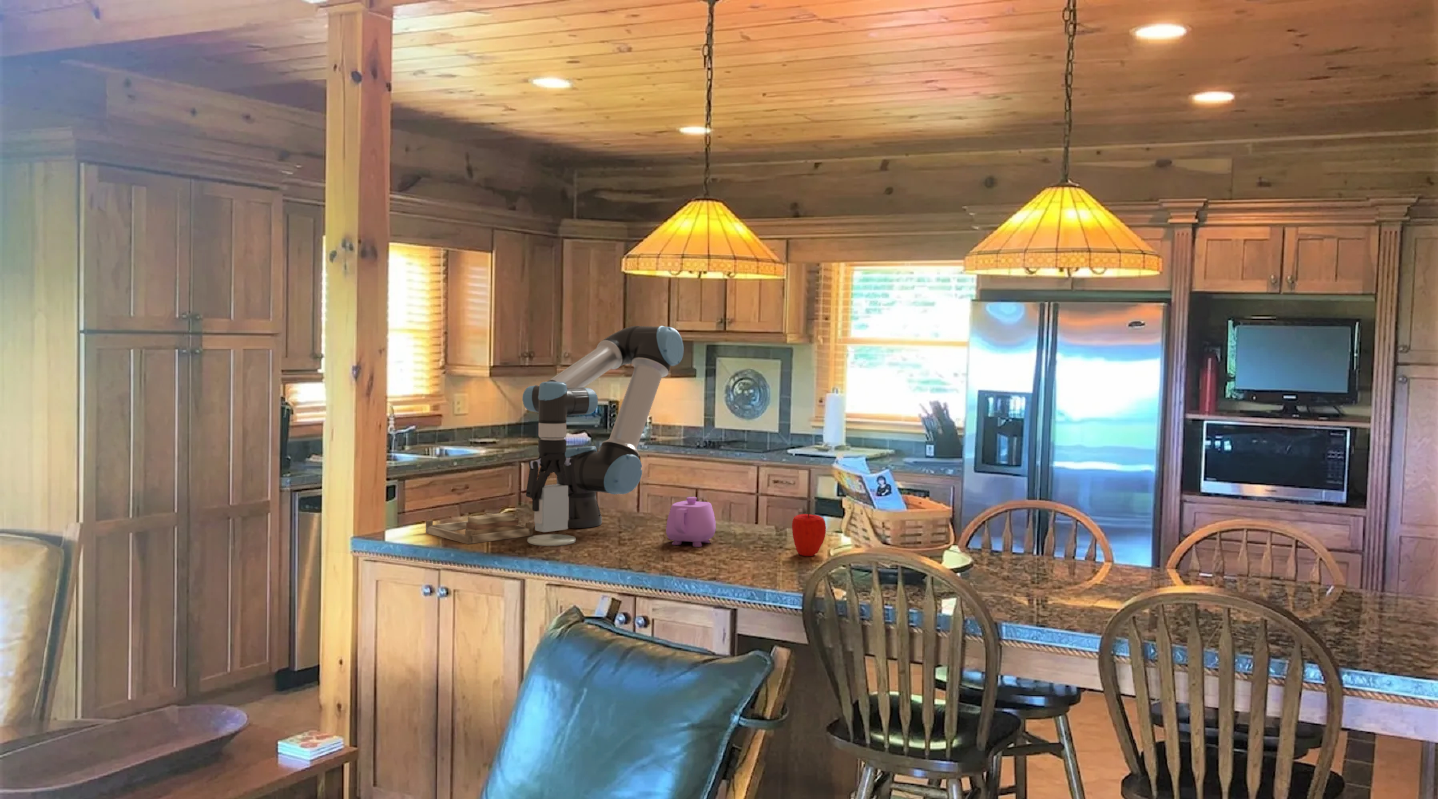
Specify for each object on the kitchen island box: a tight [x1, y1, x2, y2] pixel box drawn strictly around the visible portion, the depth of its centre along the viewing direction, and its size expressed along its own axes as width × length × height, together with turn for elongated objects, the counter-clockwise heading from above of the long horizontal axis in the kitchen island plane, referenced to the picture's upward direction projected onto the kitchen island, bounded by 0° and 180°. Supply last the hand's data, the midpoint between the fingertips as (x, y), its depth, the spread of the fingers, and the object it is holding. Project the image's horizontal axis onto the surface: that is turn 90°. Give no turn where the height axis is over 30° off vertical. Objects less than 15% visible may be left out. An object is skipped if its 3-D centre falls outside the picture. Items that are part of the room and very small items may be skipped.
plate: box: [527, 533, 577, 547], centre depth 314 cm, size 13×13×1 cm
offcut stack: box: [465, 512, 519, 535], centre depth 319 cm, size 14×5×6 cm, turn 134°
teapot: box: [665, 496, 717, 548], centre depth 315 cm, size 20×12×13 cm, turn 160°
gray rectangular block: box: [534, 483, 569, 533], centre depth 314 cm, size 8×4×12 cm, turn 134°
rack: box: [425, 512, 534, 545], centre depth 324 cm, size 21×22×4 cm
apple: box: [791, 513, 827, 557], centre depth 301 cm, size 9×9×11 cm
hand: (551, 521), depth 314 cm, fingers closed on gray rectangular block, 8 cm apart
